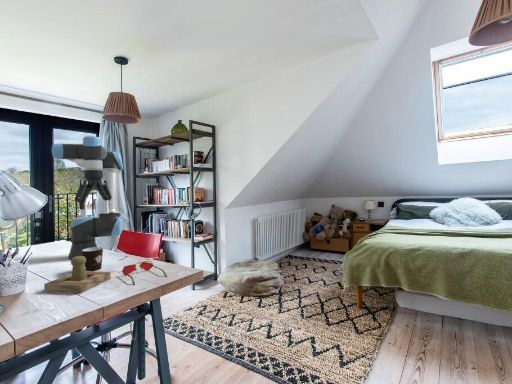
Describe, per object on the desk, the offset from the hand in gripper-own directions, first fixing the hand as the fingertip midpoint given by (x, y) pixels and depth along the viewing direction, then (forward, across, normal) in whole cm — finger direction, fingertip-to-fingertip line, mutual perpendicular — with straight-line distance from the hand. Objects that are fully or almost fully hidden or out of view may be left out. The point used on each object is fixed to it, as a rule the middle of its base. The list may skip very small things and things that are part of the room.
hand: (95, 215), depth 127 cm
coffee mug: (+27, -1, -5) cm, 27 cm away
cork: (+26, +17, +6) cm, 32 cm away
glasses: (+27, +5, +27) cm, 39 cm away
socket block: (+27, +17, +6) cm, 32 cm away
